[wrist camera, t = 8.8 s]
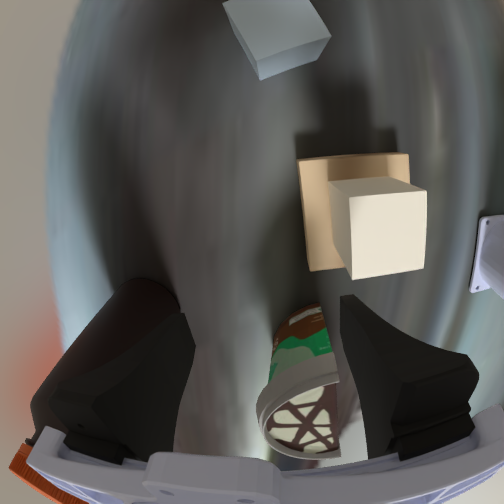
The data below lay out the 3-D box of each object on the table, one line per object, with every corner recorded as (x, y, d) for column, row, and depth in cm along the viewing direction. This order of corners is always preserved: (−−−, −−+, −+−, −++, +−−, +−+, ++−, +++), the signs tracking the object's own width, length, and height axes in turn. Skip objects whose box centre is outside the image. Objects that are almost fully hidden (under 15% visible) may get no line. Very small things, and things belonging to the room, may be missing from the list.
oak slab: (394, 151, 19) (408, 154, 17) (396, 246, 22) (408, 258, 20) (295, 158, 20) (298, 161, 18) (306, 257, 23) (310, 271, 21)
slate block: (289, 13, 15) (294, -21, 10) (316, 60, 17) (331, 36, 12) (234, 33, 16) (222, 3, 11) (260, 80, 18) (256, 61, 12)
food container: (246, 300, 24) (232, 390, 15) (317, 287, 24) (339, 375, 14) (273, 390, 29) (271, 468, 20) (329, 381, 28) (341, 459, 19)
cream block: (388, 176, 18) (426, 190, 13) (390, 236, 19) (423, 268, 14) (327, 181, 18) (348, 197, 13) (333, 243, 20) (352, 279, 15)
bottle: (126, 332, 27) (36, 491, 9) (111, 274, 24) (-25, 439, 6) (186, 339, 27) (118, 532, 8) (177, 278, 24) (59, 499, 6)
